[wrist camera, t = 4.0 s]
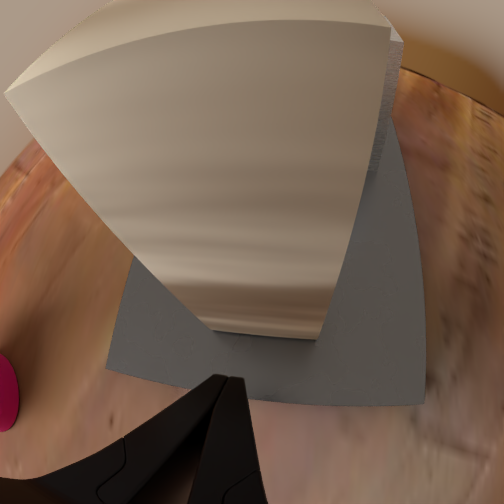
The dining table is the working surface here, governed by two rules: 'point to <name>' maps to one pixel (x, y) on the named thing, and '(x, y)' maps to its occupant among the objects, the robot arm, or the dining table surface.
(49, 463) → the dining table surface
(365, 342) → the bearing block
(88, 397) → the dining table surface
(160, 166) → the beige piece
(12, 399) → the pepper mill
